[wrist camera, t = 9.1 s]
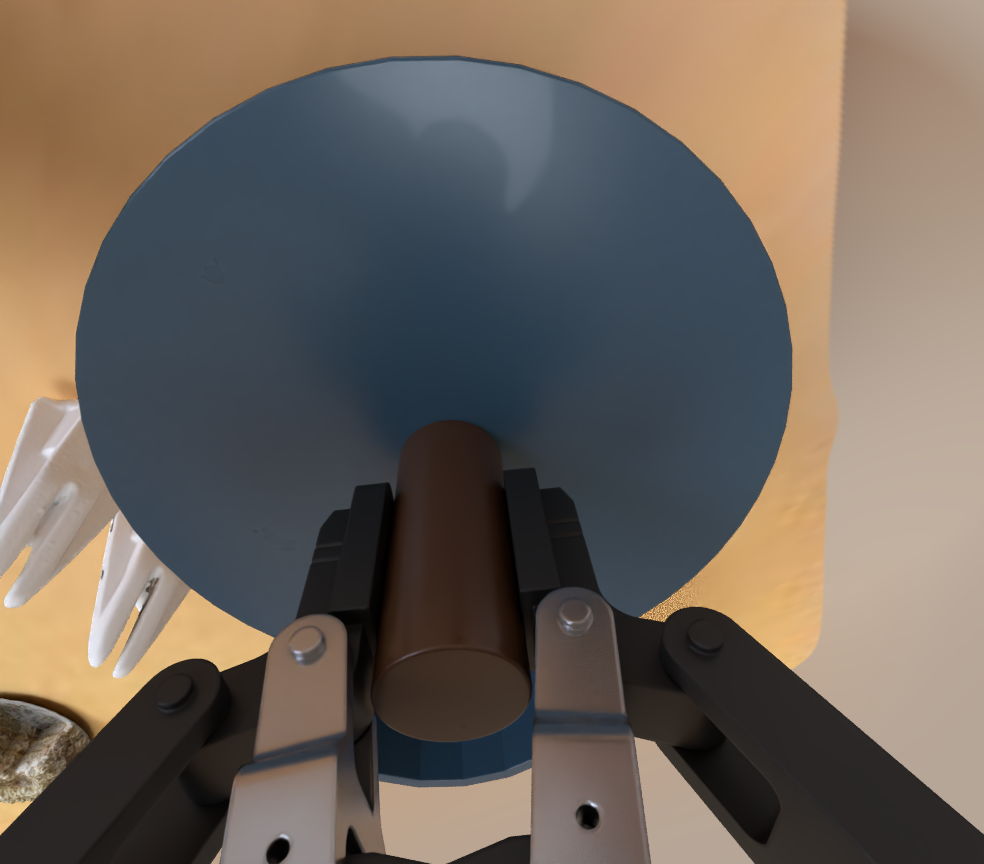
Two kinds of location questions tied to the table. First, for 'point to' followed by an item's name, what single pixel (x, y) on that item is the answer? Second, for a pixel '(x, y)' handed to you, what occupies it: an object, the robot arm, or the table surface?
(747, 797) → the robot arm
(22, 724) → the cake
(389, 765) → the tin
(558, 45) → the table surface
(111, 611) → the shaker set
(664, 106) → the table surface
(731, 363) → the lid
